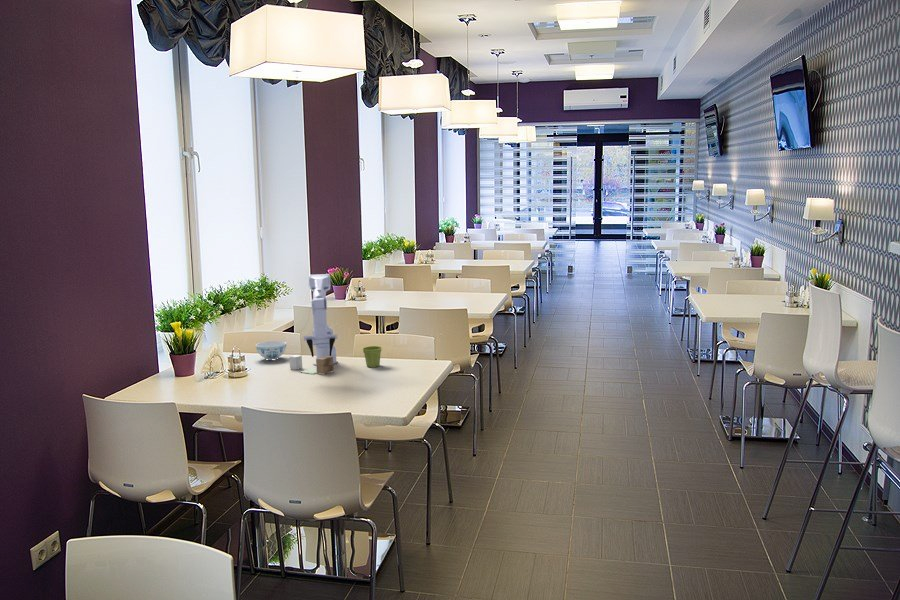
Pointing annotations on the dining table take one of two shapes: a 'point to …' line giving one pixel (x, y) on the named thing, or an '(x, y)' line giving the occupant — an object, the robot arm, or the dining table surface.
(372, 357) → the plant pot
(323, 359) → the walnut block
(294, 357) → the grey block
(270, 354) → the chinaware
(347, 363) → the dining table surface
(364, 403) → the dining table surface
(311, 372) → the sage mat
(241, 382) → the dining table surface
